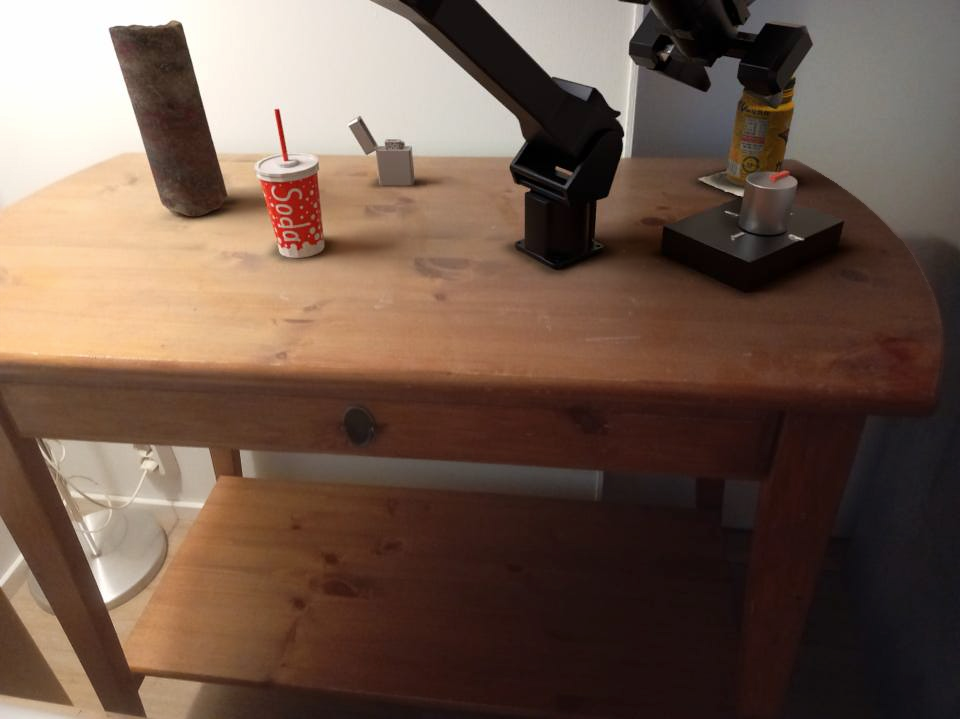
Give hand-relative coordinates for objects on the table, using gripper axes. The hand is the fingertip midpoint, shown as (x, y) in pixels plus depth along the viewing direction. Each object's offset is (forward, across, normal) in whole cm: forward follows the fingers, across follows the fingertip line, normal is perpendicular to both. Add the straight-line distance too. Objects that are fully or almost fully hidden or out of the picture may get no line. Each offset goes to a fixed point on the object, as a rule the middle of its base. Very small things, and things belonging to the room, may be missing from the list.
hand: (741, 96), depth 80 cm
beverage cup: (-25, +17, +40) cm, 50 cm away
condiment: (+10, 0, +5) cm, 11 cm away
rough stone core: (-28, +36, +43) cm, 63 cm away
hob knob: (-3, -13, +13) cm, 19 cm away
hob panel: (-1, -12, +16) cm, 20 cm away
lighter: (-14, +28, +28) cm, 42 cm away
